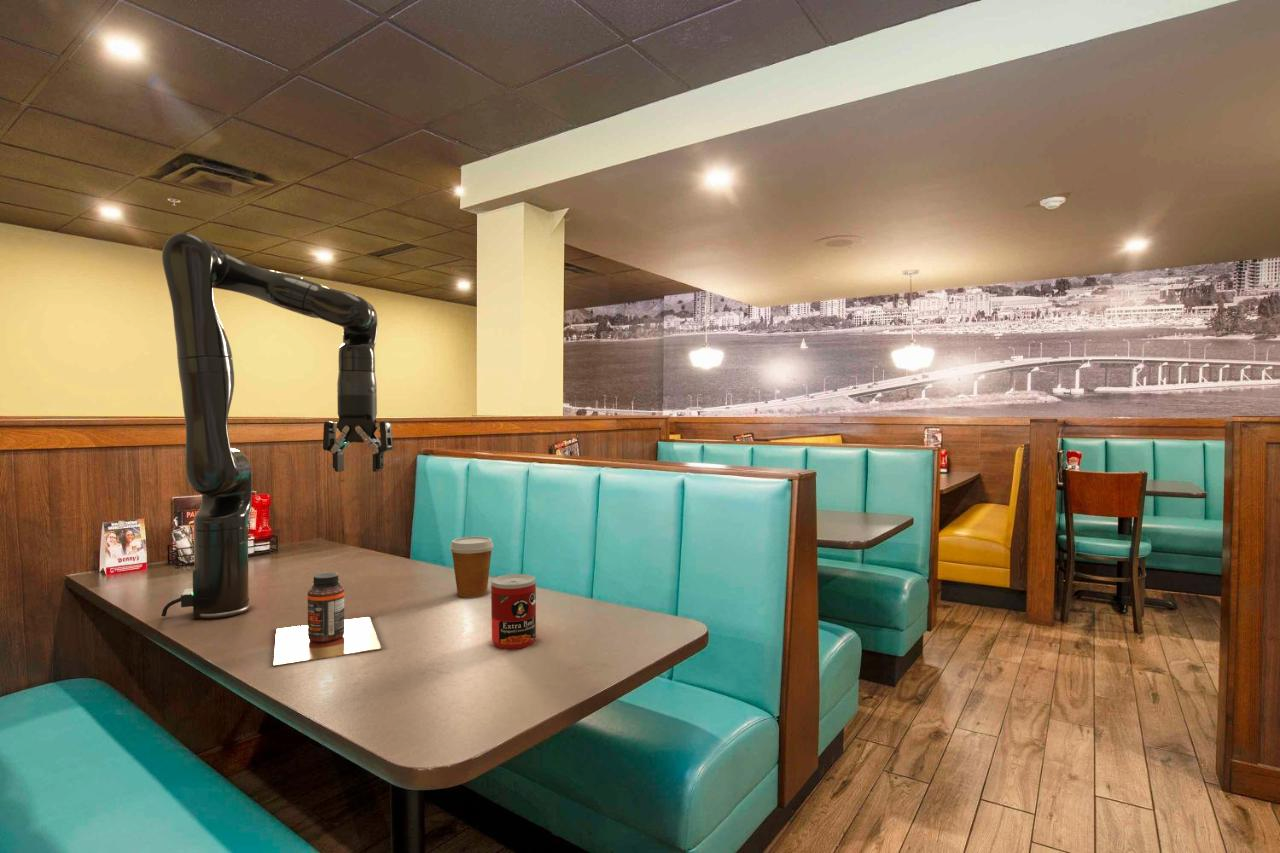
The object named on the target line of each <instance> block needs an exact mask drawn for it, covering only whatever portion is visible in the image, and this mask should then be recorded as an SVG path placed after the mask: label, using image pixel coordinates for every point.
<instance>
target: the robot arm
mask: <svg viewBox="0 0 1280 853" xmlns="http://www.w3.org/2000/svg"><path fill="white" fill-rule="evenodd" d="M161 261H162V267H163V272H164V275H165V280H166V284H167V289H168V293H169V297H170V302H171V307H172V315H173V316H172V317H173V328H174V336H175V337H174V338H175V345H176V346H175V347H176V358H177V368H178V377H179V383H180V389H181V400H182V408H183V414H184V424H185V476H186V479H187V480H186V481H187V482H188V484H189V485H190V488H192V490H194V491H195V492H196V493H197V494H200V495H201V502H200V506H199V508H198V510H197V512H196V513H195V515H194V517H193V558H194V559H193V560H194V562H193V563H194V565H193V566H194V567H193V570H192V588H184V590H183V592H182V593H181V595H180V597H178V598H175V599H173V600H171V601H169V602H167V603H166V604H165V605H164V607H163V609H162V612H161V617H166V616H167V613H168V610H169V609H170V607H171V606H173V605H175V604H178V603H180V608H188V607H193V608H192V609H193V610H192V619H194V620H197V619H205V620H206V619H208V620H209V619H219V618H220V619H222V618H228V617H234V616H237V615H240V614H243V613H245V612H247V611H249V610H250V597H249V596H250V592H249V589H250V588H249V583H250V582H249V525H248V524H249V523H248V522H249V515H250V513H251V509H252V492H253V491H252V489H253V475H252V474H253V472H252V465H251V462H250V460H249V458H248V456H246V454H245V453H244V452H242V451H241V450H239V449H237V448H232V447H231V441H230V435H229V434H230V433H229V425H228V424H229V422H228V421H229V413H230V408H231V404H232V401H233V396H234V391H235V367H234V359H233V351H232V348H231V345H230V341H229V339H228V336H227V334H226V331H225V329H224V327H223V324H222V322H221V320H220V318H219V314H218V313H217V309H216V307H215V306H216V305H215V301H214V291H213V289H216V290H217V289H218V290H223V291H229V292H235V293H239V294H242V295H246V296H249V297H253V298H255V299H259V300H261V301H263V302H266V303H269V304H272V305H274V306H276V307H279V308H282V309H285V310H286V311H287V310H288V311H291V312H294V313H296V314H300V315H302V316H305V317H308V318H313V319H320V320H323V321H325V322H327V323H331V324H334V325H336V326H339V327H342V328H343V329H342V344H341V345H340V346H339V349H338V358H337V359H338V360H337V361H338V363H337V364H338V367H337V368H338V373H337V374H338V375H337V382H336V383H337V384H336V385H337V386H336V387H337V388H336V389H337V390H336V392H337V393H336V394H337V395H336V396H337V416H338V420H337V422H335V421H325V422H323V435H322V436H323V437H322V449H323V451H328V452H329V453H331V454H332V468H333V470H334V472H336V473H337V472H338V473H339V472H344V470H345V454H344V453H343V451H344V450H345V449H346V447H347V446H349V445H350V443H365V445H367V447H369V449H371V451H372V453H373V454H372V472H373V473H379V472H381V471H382V470H383V469H384V465H385V463H384V460H385V459H384V458H385V457H384V455H385V453H386V452H387V451H391V450H393V446H394V445H393V431H392V423H391V421H387V420H386V421H380V422H378V420H377V414H378V399H377V398H378V395H377V392H378V390H377V389H378V388H377V376H376V355H375V350H376V349H375V347H376V343H377V336H378V335H377V334H378V314H377V311H376V308H375V307H374V306H373V305H372V303H370V302H369V301H367V300H366V299H364V298H363V297H361V296H359V295H357V294H353V293H350V292H347V291H343V290H338V289H335V288H330V287H327V286H324V285H322V284H319V283H317V282H313V281H311V280H308V279H305V278H303V277H300V276H299V277H298V276H295V275H293V274H288V273H284V272H281V271H276V270H272V269H267V268H263V267H260V266H256V265H253V264H251V263H248V262H246V261H243V260H241V259H240V258H237V257H235V256H234V255H232V254H229V253H227V252H225V251H224V250H223V249H220V247H218V246H217V245H216V244H214V243H212V242H210V241H208V240H207V239H205V238H203V237H201V236H199V235H196V234H193V233H189V232H178V233H176V234H173V235H172V236H170V237H169V238H168V239H167V240H166V242H165V243H164V245H163V248H162V252H161ZM377 430H378V432H379V436H380V437H378V436H377V434H376V431H377ZM338 431H339V432H340V434H339V435H338V436H337V435H336V434H337V432H338ZM336 437H337V438H336Z"/></svg>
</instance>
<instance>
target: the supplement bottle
mask: <svg viewBox="0 0 1280 853" xmlns="http://www.w3.org/2000/svg"><path fill="white" fill-rule="evenodd" d="M339 581H340V579H339V573H337V572H332V571H331V572H329V571H328V572H321V573H316V574H314V575H313V582H312V583H313V585H312V587H310V588H309V589H308V591H307V625H308V639H309V640H310V641H312V642H319V643H323V642H330V641H334V640H337V639H339V638H341V637H342V636H343V635H344V630H345V629H344V628H345V625H344V624H345V621H344V620H346V619H345V587H344V586H343V585H342V584H340V583H339Z"/></svg>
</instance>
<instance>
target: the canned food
mask: <svg viewBox="0 0 1280 853" xmlns="http://www.w3.org/2000/svg"><path fill="white" fill-rule="evenodd" d="M536 584H537V582H536V577H535V576H533V575H530V574H526V573H511V574H502V575H499V576H495V577H494V578H491V583H490V598H491V599H490V604H491V605H490V606H491V608H490V609H491V610H490V612H491V615H490V616H491V618H490V619H491V641H492V644H493V645H494V646H495V647H496V648H499V649H502V650H503V649H505V650H516V649H522V648H526V647H529V646H532V644H533V643H534V642H535V641H536V636H537V588H536V587H537V586H536Z"/></svg>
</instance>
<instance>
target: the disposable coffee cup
mask: <svg viewBox="0 0 1280 853" xmlns="http://www.w3.org/2000/svg"><path fill="white" fill-rule="evenodd" d="M494 546H495V544H494V543H493V541H492V537H491V538H490V537H488V536H487V537H486V536H464V537H459V538H454V539H452V540H451V544H450V545H449V550H450V552H451V557H452V563H453V572H454V578H455V586H456V592H457V593H456V594H457V596H458V597H459V598H460V597H461V598H469V599H470V598H479V597H482V596H485V595H486V594H487V592H488V584H489V576H490V569H491V560H492V550H494V549H493V548H494Z"/></svg>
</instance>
